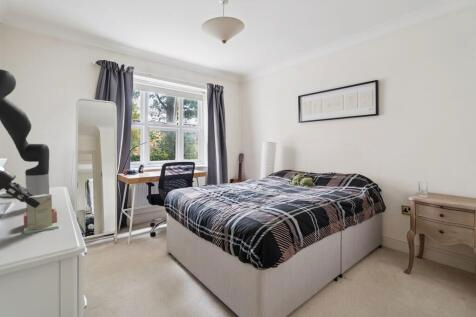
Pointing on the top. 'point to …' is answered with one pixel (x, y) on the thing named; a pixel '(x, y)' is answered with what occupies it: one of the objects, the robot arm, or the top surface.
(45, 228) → the pad
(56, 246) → the top surface
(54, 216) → the bin
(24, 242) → the top surface
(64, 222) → the top surface
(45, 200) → the skincare box
